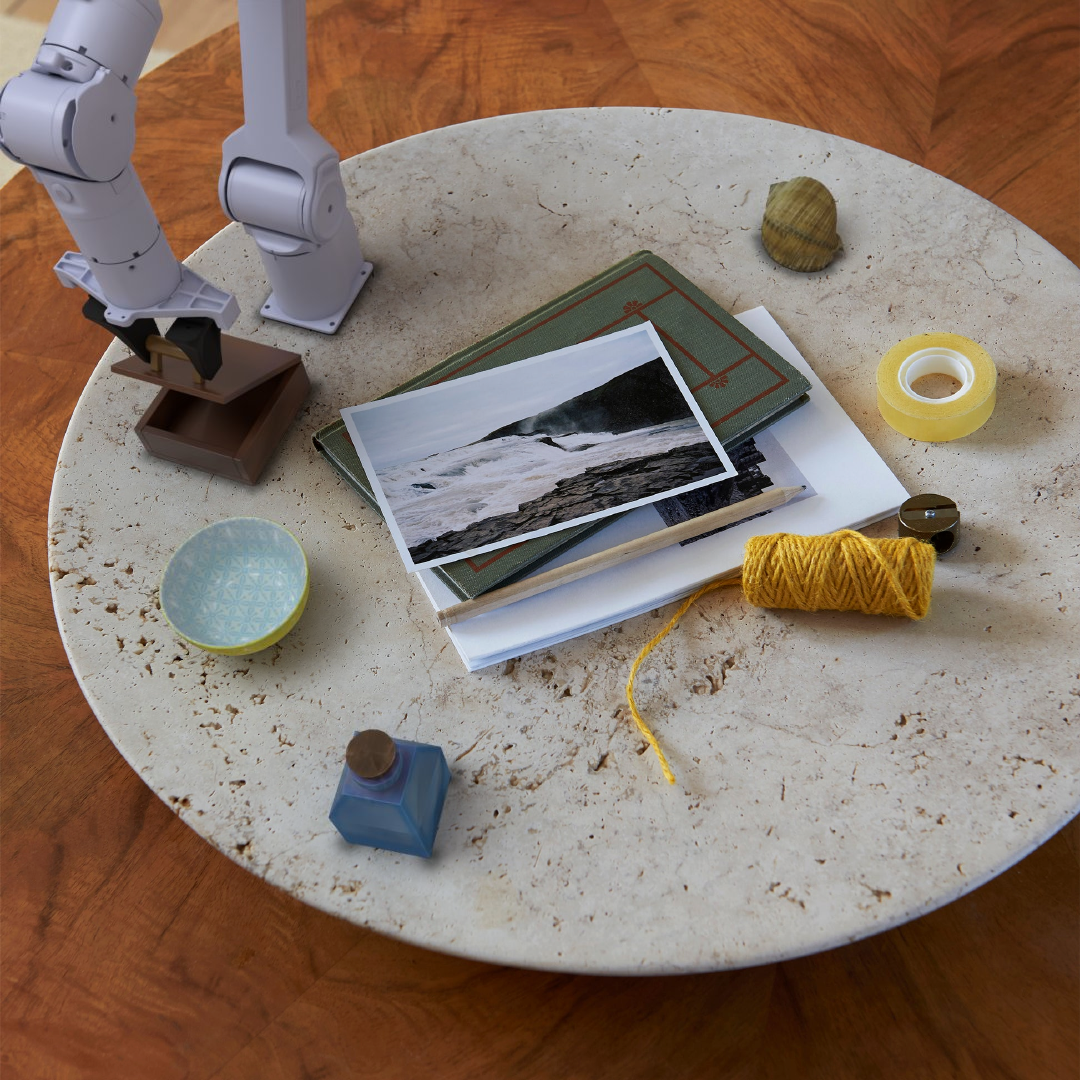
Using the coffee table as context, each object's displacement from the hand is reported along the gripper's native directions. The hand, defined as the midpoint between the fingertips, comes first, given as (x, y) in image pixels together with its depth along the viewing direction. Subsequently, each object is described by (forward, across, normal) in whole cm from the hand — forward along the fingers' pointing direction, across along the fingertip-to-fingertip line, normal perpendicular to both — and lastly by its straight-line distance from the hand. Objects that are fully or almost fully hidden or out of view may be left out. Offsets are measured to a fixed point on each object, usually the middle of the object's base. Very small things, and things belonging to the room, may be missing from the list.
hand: (183, 362), depth 85 cm
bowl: (+10, +12, -15) cm, 22 cm away
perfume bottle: (+10, +29, -26) cm, 40 cm away
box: (+10, 0, +2) cm, 10 cm away
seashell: (+10, +44, +40) cm, 60 cm away
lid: (+3, 0, +2) cm, 4 cm away
